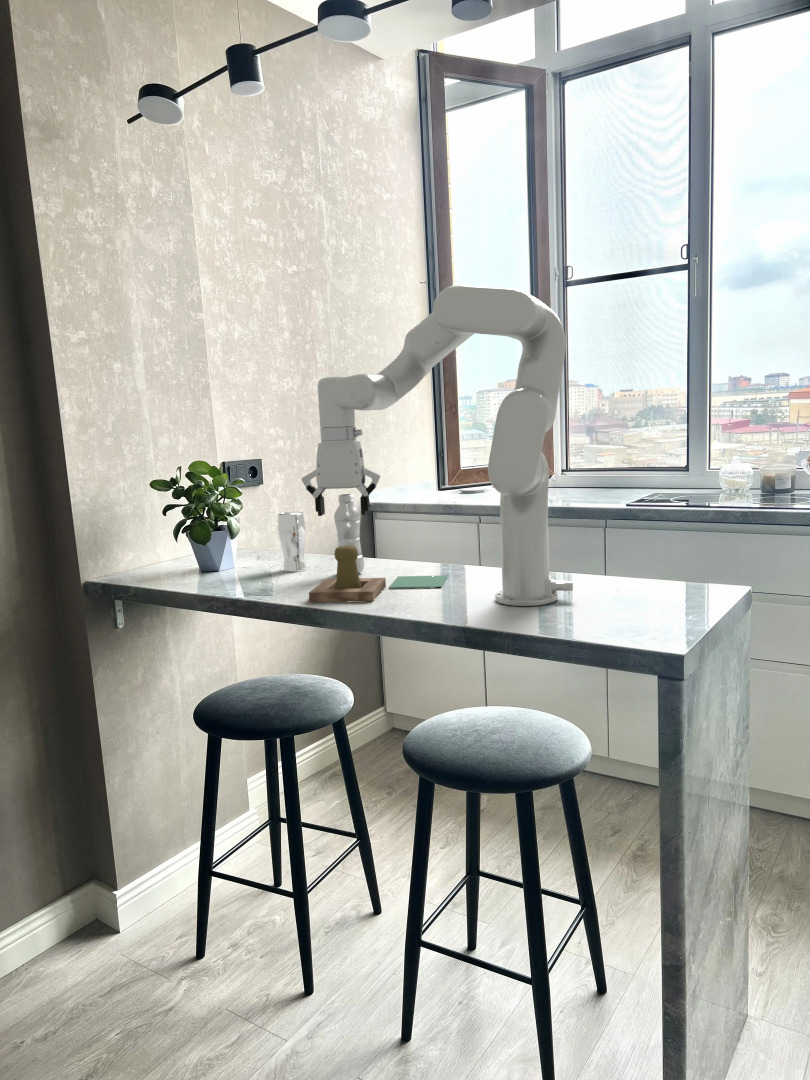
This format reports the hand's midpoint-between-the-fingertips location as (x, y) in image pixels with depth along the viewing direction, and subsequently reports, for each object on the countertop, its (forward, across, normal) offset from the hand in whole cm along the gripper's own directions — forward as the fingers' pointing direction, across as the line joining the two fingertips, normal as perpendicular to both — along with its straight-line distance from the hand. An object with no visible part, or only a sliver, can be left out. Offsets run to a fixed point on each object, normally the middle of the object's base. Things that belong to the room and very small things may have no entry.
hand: (342, 514), depth 172 cm
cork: (+18, 0, 0) cm, 18 cm away
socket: (+18, 0, 0) cm, 18 cm away
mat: (+18, -14, -11) cm, 25 cm away
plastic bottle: (+18, +5, -23) cm, 30 cm away
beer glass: (+18, +22, -30) cm, 41 cm away
